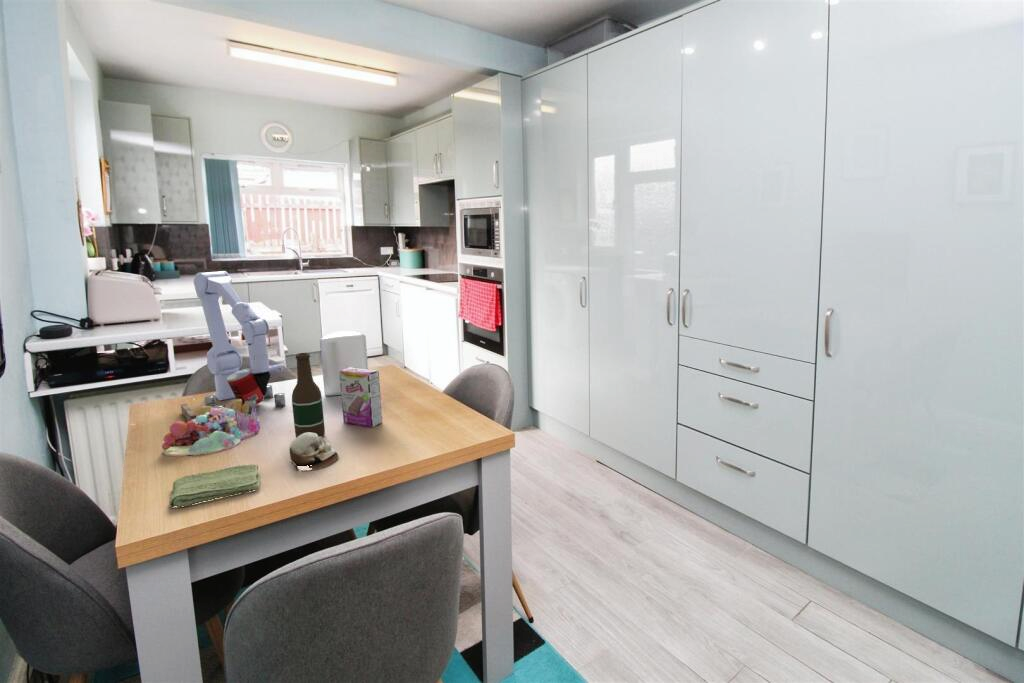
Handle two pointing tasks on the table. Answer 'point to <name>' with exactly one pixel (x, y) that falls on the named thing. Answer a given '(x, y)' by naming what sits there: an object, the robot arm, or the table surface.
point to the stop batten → (188, 412)
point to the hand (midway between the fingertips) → (263, 394)
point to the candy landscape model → (211, 430)
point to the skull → (312, 451)
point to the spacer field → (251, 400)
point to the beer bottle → (307, 400)
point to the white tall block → (341, 357)
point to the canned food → (245, 387)
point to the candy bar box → (361, 396)
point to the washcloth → (214, 485)
